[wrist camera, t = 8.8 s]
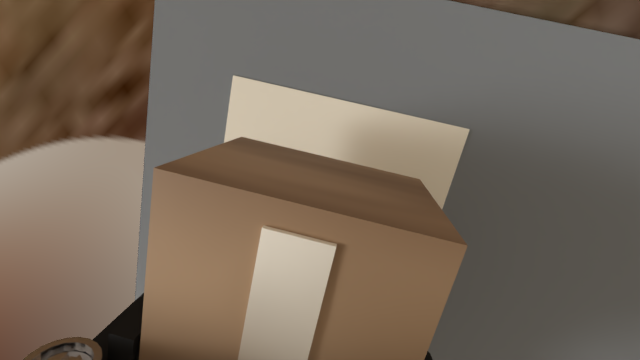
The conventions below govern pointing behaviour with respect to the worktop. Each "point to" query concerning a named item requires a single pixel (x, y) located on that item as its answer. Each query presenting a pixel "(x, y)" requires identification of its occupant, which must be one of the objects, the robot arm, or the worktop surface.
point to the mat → (438, 145)
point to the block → (292, 259)
